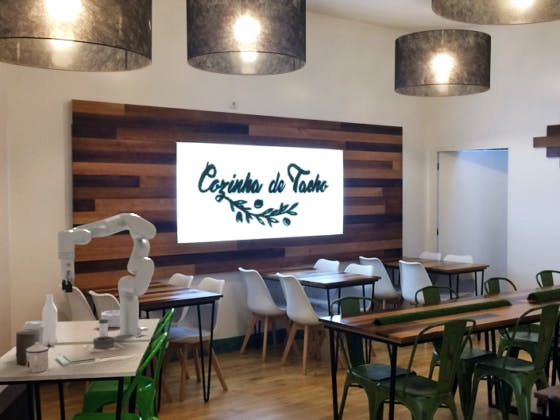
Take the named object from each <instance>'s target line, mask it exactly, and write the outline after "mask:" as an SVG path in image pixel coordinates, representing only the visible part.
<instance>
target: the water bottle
mask: <svg viewBox="0 0 560 420" xmlns="http://www.w3.org/2000/svg"><path fill="white" fill-rule="evenodd" d="M45 297H46V299H45V303H44V306H43V308H42V310H41V317H42V319H41V321H43V323H44V324H45V327H44V334H43V346H47V347H49V346H50V347H54V344H57V343H58V341H59V338H58V337H59V336H58V332H57V330H58V329H57V328H58V322H59V321H58V308H57V306H56V304H55V302H54V295H53V294H52V293H51V294H49V293H48V294H45Z"/></svg>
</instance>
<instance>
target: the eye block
mask: <svg viewBox="0 0 560 420" xmlns="http://www.w3.org/2000/svg"><path fill="white" fill-rule="evenodd" d="M83 347H84V348H85V349H86V350H88V352H89V353H98V352H107V351H115V350H121V349H123V350H124V349H125V347H124V346H123V345H122V344H119V343H118V342H117V341H115V338H114V337H112V336H108V339H107V340H99V336H97V337H95V338H93V344H83Z"/></svg>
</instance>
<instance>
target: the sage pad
mask: <svg viewBox="0 0 560 420" xmlns="http://www.w3.org/2000/svg"><path fill="white" fill-rule="evenodd" d="M55 357H56V361H58V362H59V363H60V364H61V366H63V367H65V366H73V365H74V366H75V365H79V364H81V363H82V364H88V363H89V362H90V363H95V361H97V359H96V358H89V359H81V360H73V361H70V360H69V359H68V358H67V357H66V356H65V355H60V356H55ZM90 363H89V364H90Z"/></svg>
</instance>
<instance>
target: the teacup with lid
mask: <svg viewBox="0 0 560 420" xmlns="http://www.w3.org/2000/svg"><path fill="white" fill-rule="evenodd" d="M49 350H50V349H49V346H45V345H44V344H43V345H41V344H40V343H39V342H35V345H33V346H31V347H29V348H27V349H26V361H27V365H26V372H28V373H41V372H45V371H47V370H48V369H49Z"/></svg>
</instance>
